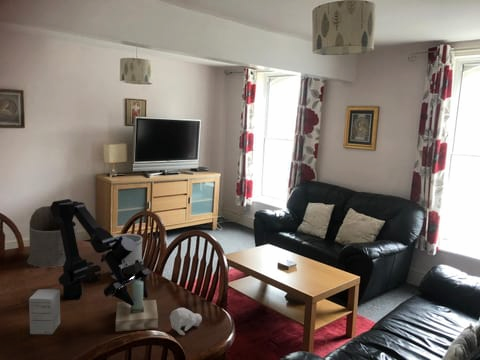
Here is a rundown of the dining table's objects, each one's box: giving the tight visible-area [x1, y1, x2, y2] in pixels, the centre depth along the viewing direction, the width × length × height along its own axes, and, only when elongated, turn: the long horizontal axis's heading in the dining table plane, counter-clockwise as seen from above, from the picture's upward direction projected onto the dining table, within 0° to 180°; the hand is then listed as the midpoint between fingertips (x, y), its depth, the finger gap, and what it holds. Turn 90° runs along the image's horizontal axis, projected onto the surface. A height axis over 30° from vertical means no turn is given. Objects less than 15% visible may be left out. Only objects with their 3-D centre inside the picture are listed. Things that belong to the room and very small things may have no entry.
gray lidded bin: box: [27, 205, 78, 268], centre depth 188 cm, size 23×32×25 cm
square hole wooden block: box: [115, 299, 159, 332], centre depth 138 cm, size 14×14×4 cm
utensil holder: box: [109, 233, 143, 280], centre depth 177 cm, size 15×15×18 cm
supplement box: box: [28, 288, 61, 335], centre depth 129 cm, size 7×7×13 cm
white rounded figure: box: [169, 307, 203, 336], centre depth 134 cm, size 6×8×12 cm
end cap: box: [84, 261, 102, 283], centre depth 171 cm, size 10×7×7 cm
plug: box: [131, 281, 144, 313], centre depth 137 cm, size 4×4×14 cm
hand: (140, 301), depth 137 cm, fingers open, 7 cm apart
